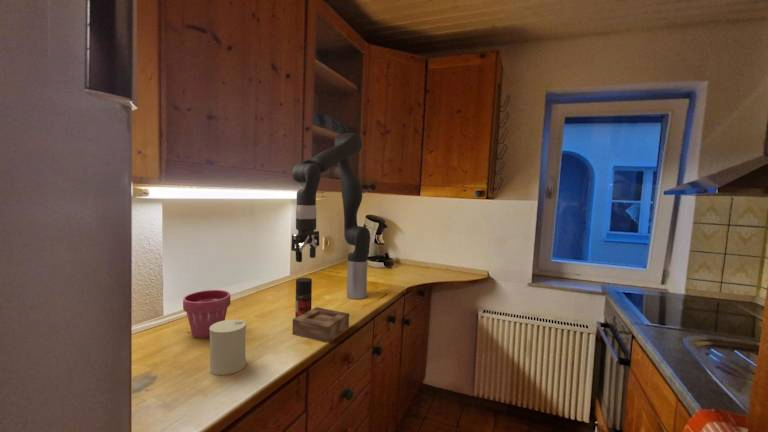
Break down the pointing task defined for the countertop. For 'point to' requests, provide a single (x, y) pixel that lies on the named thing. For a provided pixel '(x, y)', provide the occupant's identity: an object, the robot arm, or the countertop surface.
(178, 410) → the countertop surface
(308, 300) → the deodorant
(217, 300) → the plant pot
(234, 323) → the can
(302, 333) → the plinth
